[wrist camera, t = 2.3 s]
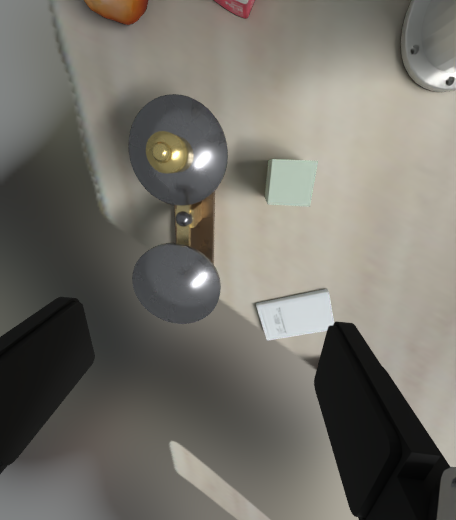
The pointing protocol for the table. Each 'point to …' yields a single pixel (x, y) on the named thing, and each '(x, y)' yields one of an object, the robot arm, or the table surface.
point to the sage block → (290, 182)
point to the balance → (179, 205)
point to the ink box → (237, 6)
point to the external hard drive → (296, 314)
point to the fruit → (119, 9)
